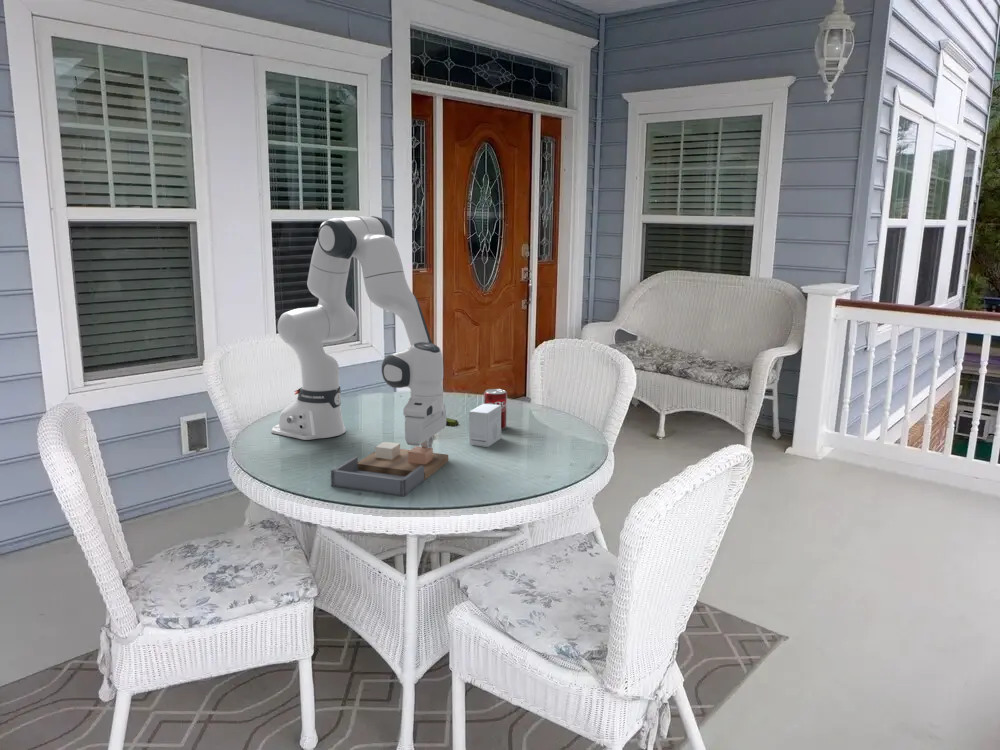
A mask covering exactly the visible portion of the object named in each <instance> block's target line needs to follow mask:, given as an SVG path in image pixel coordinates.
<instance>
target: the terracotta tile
mask: <svg viewBox="0 0 1000 750" xmlns="http://www.w3.org/2000/svg"><path fill="white" fill-rule="evenodd" d="M409 450H410V451H408V462H410V463H417V464H425V465H426V464H427V463H428V462H429V461H431V460H432V459H433V453H434V448H433V447H432V448H425V447H422V446H415V447H412V448H411V449H409Z"/></svg>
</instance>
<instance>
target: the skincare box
mask: <svg viewBox="0 0 1000 750" xmlns="http://www.w3.org/2000/svg"><path fill="white" fill-rule="evenodd" d="M468 415H469V416H468V419H469V426H468V427H469V428H468V429H469V430H468V431H469V432H468V433H469V436H468V437H469V445H470V446H478V447H484V448H485V447H486V448H489V447H490V446H492V445H493V444H495V443H496V442H498V441H499V440H500V439H501V438H502V430H501V405H493V404H484V403H482V404H480V405H479V406H477V407H475V408H473V409H471V410H469V412H468Z"/></svg>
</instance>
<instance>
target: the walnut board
mask: <svg viewBox="0 0 1000 750" xmlns="http://www.w3.org/2000/svg"><path fill="white" fill-rule="evenodd" d="M410 450H411V449H405V448H400V455H398V456H397V457H395V458H394V459H384V458H376V457H375V451H373V452H371V454H369V455H367V456H365V457H363V458H362V459H360V460H358V470H363V471H370V472H377V473H385V474H392V475H399V476H407V475H408V474H409V473H411V472H412V471H413V470H415V469H416V468H418V467H419V466H420V465H421V466H424V481H426V480H427V479H428V478H430V477H431V476H432V475H434V473H436V472H437V471H438V470H440V469H441V468H442V467H443V466H445V465H446V464H447V463H449V454H446V453H439V452H438V453H437V452H433V459H432V460H431V461H429V462H428V463H427V464H426V465H425V464H417V463H410V462H408V451H410Z"/></svg>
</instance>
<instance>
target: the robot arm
mask: <svg viewBox="0 0 1000 750" xmlns="http://www.w3.org/2000/svg"><path fill="white" fill-rule="evenodd" d="M393 236H394V234H393V228H392V226H391V225H390V223H389V222H388V221H387V220H386V219H385V218H383V217H379V216H374V215H372V216H365V215H353V216H346V217H334V218H329V219H326V220H324V221H323V222H322V223H321V224H320V227H319V229H318V234H317V239H316V242H315V244H314V247H313V251H312V255H311V259H310V265H309V270H308V275H307V281H306V284H307V285H306V286H307V288H308V290H309V292H310V293H311V294H312V295H313V296H314V297H315V298H317V299H318V302H317V305H315V306H311V307H301V308H300V307H298V308H294V309H291V310H288V311H285V312H283V313H282V314H281V315H280V317H279V319H278V321H277V333H278V335H279V337H280V339H281V340H282V341H283V343H285V344H286V345H288V346H289V347H291V349H292V350H293V351H294V353H295V354H296V356H297V359H298V361H299V366H300V373H301V387H299V388H298V389H296V390H294V392H295V393H294V395H297V398H296V399H295V400H294V401H293V402H292V403H290V404H289V405H288V406H286V408H284V409H283V410H282V411H281V412H280V414H279V418H278V419H279V421H278V424H276V425H274V426H273V427H272V429H271V433H272V434H275V435H280V436H285V437H290V438H293V439H294V438H295V439H298V440H304V441H310V440H316V439H326V438H334V437H337V436H341V435H343V434H344V433H346V427H345V424H344V420H343V415H342V410H341V404H342V403H341V402H342V391H341V389H342V388H341V386H340V371H339V364H338V361H337V359H336V358H334V357H333V356H331V355H329V354H327V353H326V352H325V350H324V349H325V348H324V343H330V342H337V341H342V340H345V339H348V338H349V337H352V336H354V335H355V334H356V332H357V330H358V326H359V321H358V317H357V313H356V312H355V311H354V310H353V308H352V307H351V306H350V305H349V304H348V301H347V297H346V291H347V290H346V289H347V283H348V282H347V281H348V277H349V273H350V267H351V266H350V265H351V261H352V258H356V259H357V260H358V261H359V263H360V265H361V272H362V276H363V283H364V288H365V292H366V294H367V297H368V299H369V301H370V302H371V303H372V304H374V306H377V308H380V309H383V310H385V311H388V312H390V313H393V314H395V315H396V316H397V317H398V318H400V320H401V321H402V324H403V325H404V329H405V332H406V335H407V337H408V342H409V345H410V347H408V348H407V349H404V350H401V351H399V352H395V353H391V354H389V355H387V356H386V357H384V359H383V361H382V364H381V376H382V378H383V380H384V382H385V383H386V384H387V385H388V386H389V387H391V388H395V389H400V388H409V389H410V392H409V393H410V397H409V399H408V401H407V403H406V404H405V405H404V407H403V409H402V410H403V412H402V413H403V416H404V436H405V437H404V438H405V442H406V444H407V445H409V446H415V447H416V446H417V447H425V448H433V444H434V440H435V436H436V434H437V433H439V432H441V431H442V430H444V429H445V428H446V427H447V425H446V418H447V410H446V405H445V403H444V388H443V379H444V359H443V354H442V350H441V348H440V347H439V346H437V345H436V344H435V343H433V342H432V338H431V336H430V333H429V330H428V329H429V328H428V326H427V324H426V319H425V317H424V315H423V311H422V308H421V305H420V303H419V300H418V298H417V297H416V295H415V294H414V293H413V292H412V291H411V288H410V286H409V284H408V282H407V279H406V276H405V269H404V267H403V261H402V258H401V256H400V253H399V250H398V247H397V244H396V242H395V240H394V239H393ZM405 416H406V418H405Z"/></svg>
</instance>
